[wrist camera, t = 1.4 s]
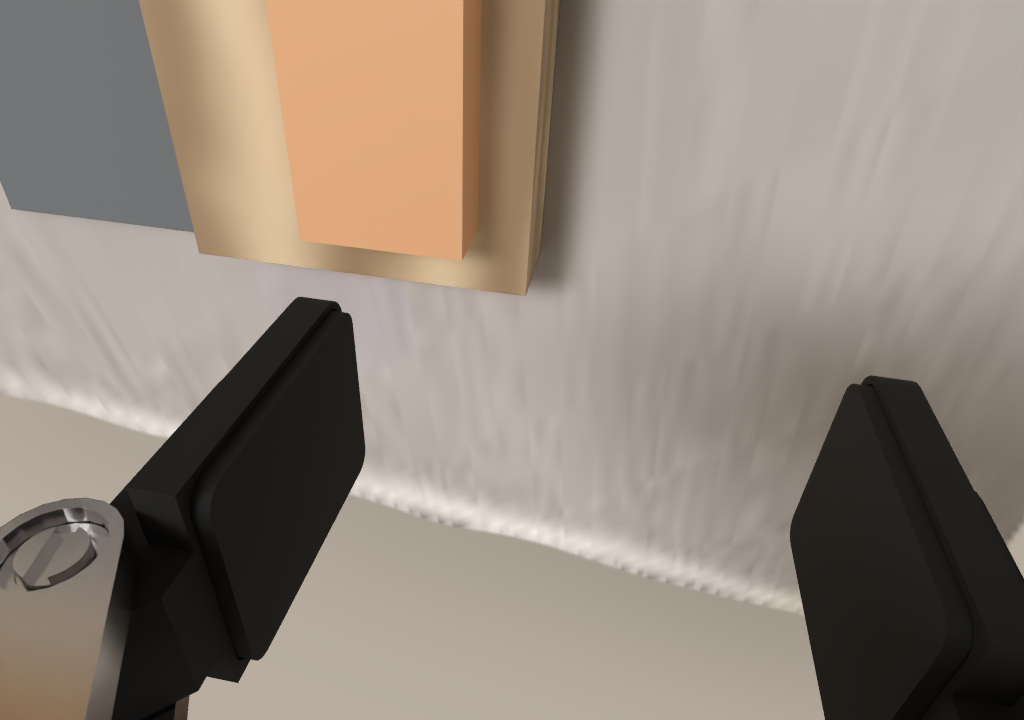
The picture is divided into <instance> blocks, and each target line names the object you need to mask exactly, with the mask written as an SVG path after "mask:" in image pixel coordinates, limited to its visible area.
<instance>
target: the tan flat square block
mask: <svg viewBox="0 0 1024 720" xmlns="http://www.w3.org/2000/svg"><path fill="white" fill-rule="evenodd" d="M139 4H140V8H141V12H142V16H143V20H144V24H145V29H146V33H147V37H148V41H149V45H150V49H151V54H152V58H153V62H154V66H155V70H156V74H157V79H158V83H159V87H160V91H161V95H162V99H163V104H164V108H165V112H166V116H167V120H168V124H169V129H170V133H171V137H172V141H173V145H174V150H175V154H176V158H177V162H178V166H179V170H180V175H181V179H182V183H183V187H184V191H185V195H186V200H187V204H188V208H189V212H190V216H191V220H192V225H193V229H194V233H195V237H196V241H197V245H198V250H199V253H201V254H209V255H216V256H224V257H232V258H239V259H247V260H254V261H262V262H270V263H277V264H285V265H293V266H300V267H308V268H316V269H323V270H331V271H338V272H346V273H354V274H361V275H369V276H377V277H384V278H392V279H399V280H407V281H415V282H422V283H430V284H438V285H445V286H453V287H461V288H468V289H476V290H483V291H491V292H499V293H506V294H514V295H522V296H526V293H527V290H528V288H529V285H530V282H531V279H532V276H533V273H534V270H535V267H536V264H537V261H538V258H539V255H540V249H541V236H542V223H543V210H544V197H545V185H546V172H547V159H548V146H549V133H550V120H551V107H552V94H553V81H554V68H555V55H556V43H557V30H558V17H559V4H560V0H482V29H481V82H480V135H479V187H478V232H477V234H476V236H475V238H474V240H473V242H472V243H471V245H470V247H469V249H468V251H467V253H466V255H465V256H464V258H463V260H462V261H458V260H450V259H442V258H434V257H426V256H418V255H410V254H403V253H395V252H387V251H379V250H371V249H363V248H355V247H347V246H339V245H331V244H323V243H315V242H307V241H300V235H299V228H298V221H297V214H296V207H295V201H294V194H293V187H292V180H291V173H290V166H289V159H288V152H287V145H286V138H285V131H284V124H283V117H282V110H281V103H280V96H279V90H278V83H277V76H276V69H275V62H274V55H273V48H272V41H271V34H270V27H269V20H268V13H267V6H266V0H139Z"/></svg>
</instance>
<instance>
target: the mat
mask: <svg viewBox="0 0 1024 720" xmlns="http://www.w3.org/2000/svg"><path fill="white" fill-rule="evenodd" d="M0 181H1V184H2V186H3V189H4V191H5V194H6V196H7V199H8V201H9V204H10V206H11V209H17V210H25V211H33V212H40V213H48V214H56V215H64V216H72V217H80V218H88V219H96V220H103V221H111V222H119V223H127V224H135V225H143V226H151V227H158V228H166V229H174V230H182V231H190V232H194V229H193V225H192V220H191V216H190V212H189V208H188V204H187V200H186V195H185V191H184V187H183V183H182V179H181V175H180V170H179V166H178V162H177V158H176V154H175V150H174V145H173V141H172V137H171V133H170V129H169V124H168V120H167V116H166V112H165V108H164V104H163V99H162V95H161V91H160V87H159V83H158V79H157V74H156V70H155V66H154V62H153V58H152V54H151V49H150V45H149V41H148V37H147V33H146V29H145V24H144V20H143V16H142V12H141V8H140V4H139V0H0Z"/></svg>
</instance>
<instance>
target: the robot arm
mask: <svg viewBox="0 0 1024 720" xmlns="http://www.w3.org/2000/svg"><path fill="white" fill-rule="evenodd" d="M364 457H365V440H364V430H363V421H362V411H361V401H360V391H359V381H358V372H357V362H356V352H355V342H354V332H353V323H352V318H351V316H350V314H348V313H344V312H342V311H341V308H340V306H339V304H338V303H337V302H335V301H328V300H320V299H313V298H306V297H297V298H296V299H295V300H294V301H293V302H292V303H291V304H290V305H289V306H288V307H287V308H286V309H285V311H284V312H283V313H282V314H281V315H280V316H279V317H278V318H277V320H276V321H275V322H274V323H273V324H272V325H271V326H270V327H269V328H268V330H267V331H266V332H265V333H264V334H263V335H262V336H261V337H260V338H259V340H258V341H257V342H256V343H255V344H254V345H253V346H252V347H251V348H250V350H249V351H248V352H247V353H246V354H245V355H244V356H243V357H242V358H241V360H240V361H239V362H238V363H237V364H236V365H235V366H234V367H233V369H232V370H231V371H230V372H229V373H228V374H227V375H226V376H225V377H224V379H223V380H221V381H220V382H219V383H218V384H217V385H216V386H215V388H214V389H213V390H212V391H211V392H210V393H209V394H208V395H207V396H206V398H205V399H204V400H203V401H202V402H201V403H200V404H199V405H198V406H197V408H196V409H195V410H194V411H193V412H192V413H191V414H190V415H189V416H188V418H187V419H186V420H185V421H184V422H183V423H182V424H181V425H180V426H179V428H178V429H177V430H176V431H175V432H174V433H173V434H172V435H171V436H170V438H169V439H168V440H167V441H166V442H165V443H164V444H163V445H162V447H161V448H160V449H159V450H158V451H157V452H156V453H155V454H154V455H153V456H152V458H151V459H150V460H149V461H148V462H147V463H146V464H145V465H144V466H143V468H142V469H141V470H140V471H139V472H138V473H137V474H136V475H135V476H134V478H133V479H132V480H131V481H130V482H129V483H128V484H127V485H126V486H125V488H124V489H123V490H122V491H121V492H120V493H119V494H118V496H116V498H115V499H114V500H113V501H112V502H111V503H110V504H108V503H106V502H105V501H101V500H95V499H90V498H73V499H63V500H60V501H55V502H51V503H47V504H43V505H41V506H38V507H36V508H34V509H32V510H29V511H27V512H25V513H23V514H20V515H19V516H17V517H15V518H14V519H12V520H11V521H9V522H8V523H6V524H5V525H3V526H2V527H0V720H187V716H188V704H189V695H191V694H193V693H195V692H197V691H198V690H199V689H200V687H201V685H202V683H203V682H204V680H205V678H206V677H207V676H208V677H212V678H217V679H222V680H227V681H231V682H236V683H238V682H239V680H240V678H241V676H242V674H243V673H244V671H245V669H246V667H247V665H248V663H249V661H250V659H252V660H259V659H261V658H262V657H263V656H264V655H265V653H266V652H267V650H268V648H269V646H270V644H271V642H272V640H273V639H274V637H275V635H276V633H277V631H278V629H279V627H280V625H281V623H282V621H283V619H284V617H285V616H286V614H287V612H288V610H289V608H290V606H291V604H292V602H293V600H294V598H295V596H296V594H297V592H298V590H299V589H300V587H301V585H302V582H303V581H304V579H305V577H306V575H307V573H308V571H309V569H310V567H311V565H312V563H313V562H314V560H315V558H316V556H317V554H318V552H319V550H320V548H321V546H322V544H323V542H324V540H325V538H326V537H327V535H328V533H329V531H330V529H331V526H332V525H333V523H334V521H335V519H336V517H337V515H338V513H339V511H340V509H341V508H342V506H343V504H344V502H345V500H346V498H347V496H348V494H349V492H350V490H351V488H352V486H353V485H354V483H355V481H356V479H357V477H358V475H359V473H360V471H361V468H362V466H363V462H364ZM790 542H791V548H792V553H793V558H794V564H795V569H796V574H797V579H798V584H799V589H800V594H801V599H802V604H803V609H804V614H805V619H806V625H807V629H808V635H809V640H810V645H811V650H812V655H813V660H814V665H815V670H816V675H817V680H818V686H819V691H820V695H821V701H822V706H823V710H824V716H825V720H1024V578H1023V576H1022V575H1021V573H1020V571H1019V569H1018V567H1017V565H1016V563H1015V561H1014V560H1013V557H1012V555H1011V553H1010V552H1009V550H1008V548H1007V546H1006V544H1005V542H1004V540H1003V538H1002V536H1001V534H1000V533H999V531H998V529H997V527H996V525H995V523H994V521H993V519H992V517H991V515H990V514H989V512H988V510H987V508H986V506H985V504H984V502H983V501H982V499H981V498H980V497H979V495H978V494H977V492H975V491H974V489H973V488H972V486H971V484H970V482H969V480H968V478H967V476H966V474H965V472H964V470H963V468H962V466H961V464H960V463H959V461H958V459H957V457H956V455H955V453H954V451H953V449H952V447H951V445H950V443H949V441H948V439H947V438H946V436H945V434H944V432H943V430H942V428H941V426H940V424H939V422H938V420H937V418H936V416H935V414H934V413H933V411H932V409H931V407H930V405H929V403H928V401H927V399H926V397H925V395H924V393H923V391H922V389H921V388H920V386H919V385H918V384H917V383H916V382H913V381H907V380H900V379H892V378H885V377H878V376H868V377H866V378H865V380H864V381H863V382H862V384H861V385H859V384H851V385H850V386H849V387H848V388H847V390H846V392H845V394H844V396H843V399H842V401H841V403H840V406H839V408H838V410H837V413H836V415H835V418H834V420H833V422H832V425H831V427H830V430H829V432H828V434H827V437H826V439H825V442H824V444H823V446H822V449H821V451H820V454H819V456H818V458H817V461H816V463H815V466H814V468H813V470H812V473H811V475H810V478H809V480H808V482H807V485H806V487H805V490H804V492H803V494H802V497H801V499H800V502H799V504H798V506H797V509H796V511H795V514H794V516H793V519H792V523H791V529H790Z"/></svg>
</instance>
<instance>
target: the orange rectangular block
mask: <svg viewBox="0 0 1024 720" xmlns="http://www.w3.org/2000/svg"><path fill="white" fill-rule="evenodd" d="M266 6H267V13H268V20H269V27H270V34H271V41H272V48H273V55H274V62H275V69H276V76H277V83H278V90H279V96H280V103H281V110H282V117H283V124H284V131H285V138H286V145H287V152H288V159H289V166H290V173H291V180H292V187H293V194H294V201H295V207H296V214H297V221H298V228H299V235H300V241H307V242H315V243H323V244H331V245H339V246H347V247H355V248H363V249H371V250H379V251H387V252H395V253H403V254H410V255H418V256H426V257H434V258H442V259H450V260H458V261H462V260H463V258H464V256H465V255H466V253H467V251H468V249H469V247H470V245H471V243H472V242H473V240H474V238H475V236H476V234H477V232H478V187H479V135H480V82H481V29H482V0H266Z"/></svg>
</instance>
